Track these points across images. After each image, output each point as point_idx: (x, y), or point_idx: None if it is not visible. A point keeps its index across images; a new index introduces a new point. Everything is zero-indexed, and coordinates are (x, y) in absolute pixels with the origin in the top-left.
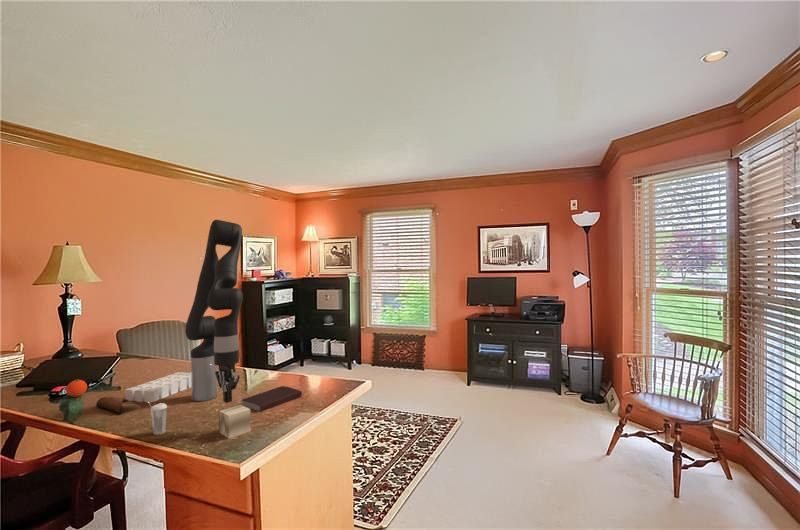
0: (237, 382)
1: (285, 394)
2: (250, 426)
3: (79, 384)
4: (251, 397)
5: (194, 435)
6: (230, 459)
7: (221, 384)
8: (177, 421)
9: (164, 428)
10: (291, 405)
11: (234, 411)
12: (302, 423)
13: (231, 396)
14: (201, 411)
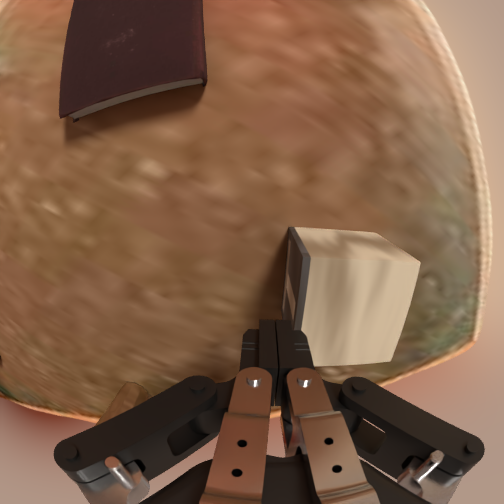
0: (433, 419)
1: None
2: (383, 238)
3: None
4: (73, 75)
5: (232, 362)
6: (449, 348)
7: (212, 435)
8: (78, 333)
9: (140, 395)
10: None
11: (373, 327)
12: (454, 90)
13: (309, 348)
14: (38, 251)
